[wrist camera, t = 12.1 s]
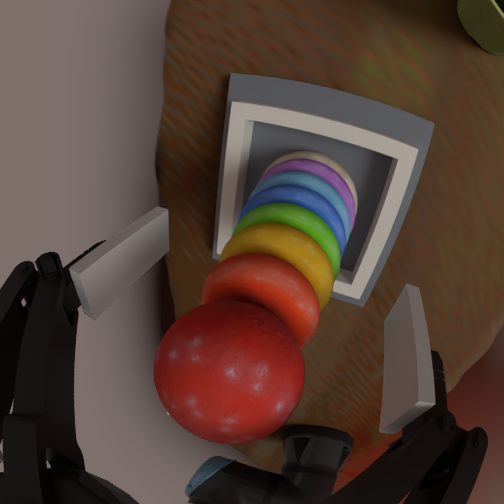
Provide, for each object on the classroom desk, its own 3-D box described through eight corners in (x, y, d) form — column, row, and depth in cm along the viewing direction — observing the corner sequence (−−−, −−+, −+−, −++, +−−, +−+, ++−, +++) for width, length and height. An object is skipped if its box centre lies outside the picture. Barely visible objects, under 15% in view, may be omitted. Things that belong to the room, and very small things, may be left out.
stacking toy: (246, 208, 24) (88, 382, 9) (290, 130, 19) (63, 258, 4) (321, 257, 24) (246, 476, 9) (376, 187, 19) (397, 454, 4)
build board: (363, 297, 26) (362, 321, 23) (218, 250, 29) (203, 268, 27) (429, 122, 16) (442, 125, 13) (238, 74, 19) (219, 71, 16)
